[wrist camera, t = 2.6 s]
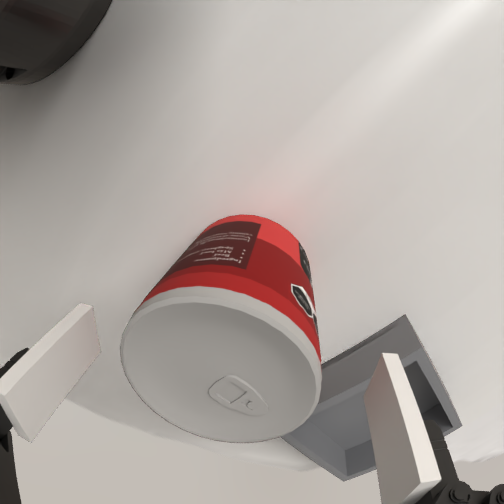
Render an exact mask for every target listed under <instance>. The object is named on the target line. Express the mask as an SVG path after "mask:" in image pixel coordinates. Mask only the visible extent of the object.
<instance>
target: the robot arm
mask: <svg viewBox="0 0 504 504" xmlns="http://www.w3.org/2000/svg"><path fill="white" fill-rule="evenodd" d="M111 1H112V0H0V84H14V85H25V84H30V83H33V82H36V81H39V80H41V79H43V78H45V77H46V76H48V75H50V74H51V73H53V72H54V71H56V70H57V69H58V68H59V67H61V66H62V65H63V64H64V63H65V62H66V61H68V60H69V59H70V58H71V57H72V56H73V55H74V54H75V53H76V52H77V50H78V49H79V48H80V47H81V46H82V45H83V44H84V42H85V41H86V40H87V39H88V37H89V36H90V35H91V34H92V32H93V31H94V29H95V28H96V27H97V25H98V24H99V22H100V20H101V19H102V17H103V16H104V14H105V12H106V10H107V9H108V7H109V5H110V3H111ZM100 353H101V349H100V344H99V339H98V334H97V328H96V322H95V316H94V310H93V306H90V305H86V304H83V303H80V304H79V305H77V306H76V307H75V308H74V309H73V310H72V311H71V312H70V313H68V314H67V315H66V316H65V317H64V318H63V319H62V320H61V321H60V322H58V323H57V324H56V325H55V326H54V327H53V328H52V329H51V330H50V331H49V332H48V333H47V334H45V335H44V336H43V337H42V338H41V339H40V340H39V341H38V342H37V343H36V344H35V345H34V346H33V347H32V348H31V349H29V348H25V349H23V350H21V351H19V352H18V353H16V354H15V355H14V356H13V357H12V358H11V359H10V361H8V362H7V363H6V364H5V366H4V367H2V368H1V369H0V504H21V499H20V494H19V489H18V483H17V477H16V470H15V462H14V455H13V445H12V436H11V432H10V429H11V428H12V427H14V429H15V430H16V432H17V434H18V435H19V436H21V437H22V438H24V439H25V440H27V441H29V442H31V443H32V441H33V440H34V439H35V437H36V436H37V435H38V433H39V432H40V430H41V429H42V428H43V426H44V425H45V424H46V422H47V421H48V420H49V418H50V417H51V416H52V414H53V413H54V412H55V410H56V409H57V408H58V406H59V405H60V404H61V402H62V401H63V400H64V398H65V397H66V396H67V395H68V393H69V392H70V391H71V389H72V388H73V387H74V386H75V384H76V383H77V382H78V380H79V379H80V378H81V377H82V375H83V374H84V373H85V372H86V370H87V369H88V368H89V366H90V365H91V364H92V363H93V361H94V360H95V359H96V358H97V356H98V355H99V354H100ZM363 398H364V403H365V408H366V413H367V418H368V423H369V428H370V433H371V439H372V444H373V450H374V456H375V462H376V468H377V474H378V481H379V488H380V494H381V502H382V504H504V484H500V485H498V486H495V487H494V488H493V489H492V490H491V491H490V492H487V491H473V490H472V489H471V488H470V486H469V485H467V484H466V483H465V482H462V481H459V479H458V477H457V474H456V471H455V468H454V464H453V461H452V458H451V456H450V453H449V450H448V449H447V444H446V441H444V436H443V433H442V431H441V428H440V427H439V426H438V425H437V424H436V422H435V421H434V420H423V419H422V416H421V413H420V411H419V408H418V405H417V402H416V400H415V397H414V394H413V392H412V389H411V386H410V384H409V381H408V379H407V376H406V374H405V371H404V368H403V366H402V364H401V361H400V359H399V356H398V354H393V353H382V354H381V357H380V359H379V362H378V364H377V367H376V369H375V371H374V374H373V376H372V378H371V381H370V383H369V385H368V388H367V390H366V392H365V394H364V396H363Z"/></svg>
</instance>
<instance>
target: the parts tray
mask: <svg viewBox="0 0 504 504" xmlns="http://www.w3.org/2000/svg"><path fill="white" fill-rule="evenodd" d="M382 353H393V354H398V356H399V359H400V361H401V364H402V366H403V368H404V371H405V374H406V376H407V379H408V381H409V384H410V386H411V389H412V392H413V394H414V397H415V400H416V402H417V405H418V408H419V411H420V413H421V416H422V419H423V420H434V421H435V422H436V424H437V425H438V426H439V427H440V428H441V431H442V433H443V436H446V435H448V434H450V433H451V432H453V431H455V430H456V429H458V428H460V427H461V426H462V424H461V421H460V419H459V417H458V414H457V412H456V410H455V408H454V405H453V403H452V401H451V399H450V397H449V394H448V392H447V390H446V388H445V386H444V384H443V382H442V380H441V378H440V377H439V375H438V373H437V371H436V369H435V367H434V365H433V363H432V361H431V359H430V357H429V356H428V354H427V352H426V350H425V348H424V346H423V345H422V343H421V341H420V339H419V337H418V336H417V334H416V332H415V330H414V329H413V327H412V325H411V323H410V322H409V320H408V318H407V316H406V315H404V316H402V317H401V318H399V319H398V320H396V321H395V322H393V323H391V324H390V325H388V326H387V327H385V328H384V329H382V330H380V331H379V332H377V333H376V334H374V335H372V336H371V337H369V338H367V339H366V340H364V341H362V342H361V343H359V344H357V345H356V346H354V347H352V348H350V349H349V350H347V351H345V352H343V353H342V354H340V355H338V356H336V357H335V358H333V359H331V360H329V361H327V362H325V363H324V364H322V365H321V371H322V381H321V391H320V397H319V402H318V404H317V406H316V407H315V409H314V411H313V413H312V414H311V415H310V417H309V418H308V419H307V420H306V421H305V422H304V423H303V424H302V425H300V426H299V427H297V428H296V429H295V430H293V431H292V432H289V433H287V434H285V435H283V436H281V438H282V439H284V440H285V441H286V442H288V443H289V444H290V445H292V446H293V447H294V448H296V449H297V450H299V451H300V452H301V453H303V454H304V455H305V456H307V457H308V458H310V459H311V460H313V461H314V462H315V463H317V464H318V465H320V466H321V467H323V468H324V469H326V470H327V471H329V472H330V473H332V474H333V475H335V476H336V477H338V478H339V479H341V480H342V481H346V480H349V479H352V478H355V477H358V476H360V475H363V474H365V473H368V472H371V471H373V470H376V469H377V468H376V462H375V456H374V450H373V444H372V439H371V433H370V428H369V423H368V418H367V413H366V408H365V403H364V398H363V396H364V394H365V392H366V390H367V388H368V385H369V383H370V381H371V378H372V376H373V374H374V371H375V369H376V367H377V364H378V362H379V359H380V357H381V354H382Z"/></svg>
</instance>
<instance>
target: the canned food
mask: <svg viewBox="0 0 504 504" xmlns="http://www.w3.org/2000/svg"><path fill="white" fill-rule="evenodd" d="M120 355H121V363H122V366H123V369H124V372H125V375H126V377H127V379H128V381H129V382H130V384H131V386H132V388H133V389H134V391H135V392H136V393H137V394H138V396H139V397H140V398H141V399H142V401H143V402H144V403H145V404H147V405H148V406H149V407H150V408H151V409H152V410H153V411H154V412H155V413H157V414H158V415H159V416H161V417H162V418H164V419H165V420H166V421H168V422H170V423H171V424H173V425H175V426H177V427H179V428H181V429H182V430H185V431H187V432H190V433H192V434H195V435H197V436H200V437H204V438H208V439H212V440H216V441H222V442H230V443H253V442H262V441H267V440H271V439H274V438H278V437H281V436H283V435H285V434H287V433H289V432H292V431H293V430H295V429H296V428H297V427H299V426H300V425H302V424H303V423H304V422H305V421H306V420H307V419H308V418H309V417H310V415H311V414H312V413H313V411H314V409H315V407H316V406H317V404H318V402H319V397H320V391H321V381H322V371H321V354H320V345H319V336H318V327H317V319H316V311H315V303H314V295H313V287H312V280H311V273H310V266H309V261H308V258H307V256H306V253H305V251H304V249H303V248H302V246H301V244H300V243H299V241H298V240H297V239H296V238H295V237H294V236H293V235H292V234H291V233H290V232H289V231H288V230H286V229H285V228H284V227H282V226H281V225H280V224H278V223H276V222H273V221H271V220H269V219H267V218H263V217H259V216H255V215H235V216H229V217H226V218H223V219H220V220H218V221H216V222H215V223H213V224H211V225H210V226H208V227H207V228H206V229H205V230H204V231H203V232H202V233H201V234H200V235H199V236H198V237H197V239H196V240H195V241H194V242H193V243H192V244H191V245H190V246H189V248H188V249H187V250H186V251H185V252H184V253H183V254H182V256H181V257H180V258H179V259H178V260H177V261H176V262H175V264H174V265H173V266H172V267H171V268H170V269H169V270H168V272H167V273H166V274H165V275H164V276H163V277H162V279H161V280H160V281H159V282H158V283H157V284H156V286H155V287H154V288H153V289H152V290H151V292H150V293H149V294H148V295H147V296H146V298H145V299H144V300H143V302H142V303H141V305H140V306H139V307H138V308H137V309H136V311H135V312H134V313H133V315H132V317H131V319H130V321H129V323H128V324H127V326H126V328H125V330H124V332H123V334H122V339H121V345H120Z"/></svg>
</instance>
